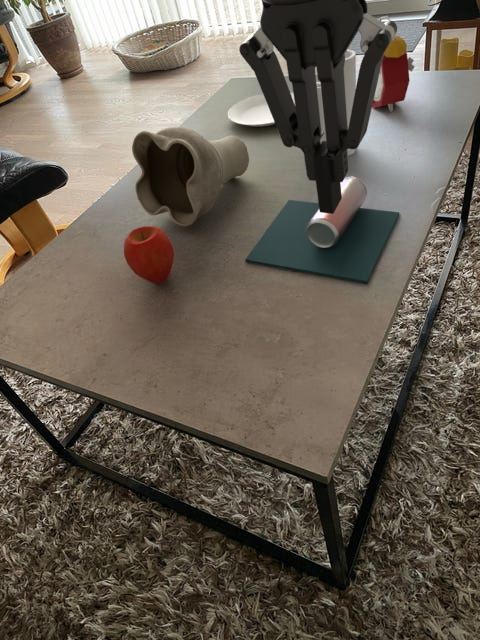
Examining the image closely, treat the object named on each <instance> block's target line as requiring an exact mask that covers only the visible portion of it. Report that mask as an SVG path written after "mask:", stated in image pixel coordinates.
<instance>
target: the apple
mask: <svg viewBox="0 0 480 640" xmlns="http://www.w3.org/2000/svg"><path fill="white" fill-rule="evenodd" d="M123 257H124V259H125V261H126V264H127V265H128V267H129V268H130V269H131V270H132V272H133V273H134V274H135V275H137V276H138V277H139V278H141V279H143V280H145V281H148V282H149V283H152V284H155V285H160V284H164V283H165V282H167V280H168V279H169V277H170V275H171V272H172V269H173V265H174V260H175V251H174V246H173V243H172V241H171V239H170V238H169V236H168V235H167V233H166V232H165V231H164V230H162V229H161V228H159V227H157V226H141V227H137V228H135V229H132V230H131V232H129V234H128V235H127V236H126V238H125V240H124V242H123Z"/></svg>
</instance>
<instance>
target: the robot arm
mask: <svg viewBox="0 0 480 640" xmlns="http://www.w3.org/2000/svg"><path fill="white" fill-rule="evenodd" d="M261 3H262V7H261V14H260V18H259V26H260V27H259V28H258V29H257V30H256V31H254V32H253V33H251V34H250V35H249V36H248V37H247V38H246V39H245V40H244V41H243V42H242V43H241V44H240V45H239V51H238V52H239V53H240V56H241V57H242V58H243V59H244V61H245V62H246V63H247V64H248V66H249V67H250V68H251V69H252V71H253V72H254V75H255V78H256V80H257V82H258V84H259V87H260V90H261V93H262V94H263V95H264V97H265V100H266V102H267V105H268V107H269V110H270V112H271V114H272V117H273V119H274V122H275V124H274V125H275V127H276V129H277V131H278V135H279V136H280V140H281V142H282V144H283V146H284V147H287V148H292V147H296V148H298V149H300V150H301V152H302V153H303V156H304V163H305V164H304V165H305V171H306V177H307V179H308V181H312V182H313V181H314V182H315V185H316V195H317V203H319V211H320V213H329V214H334V212H335V210H336V208H337V206H338V204H339V203H340V201H341V199H342V195H341V182H343V180H344V178H346V177H347V175H348V173H349V158H348V157H349V156H348V155H347V149H356V150H357V148H359V147H360V145H361V142H362V141H363V139H364V137H365V136H366V134H367V131H368V127H369V122H370V118H371V114H372V109H373V108H372V105H373V100H374V96H375V91H376V87H377V82H378V78H379V73H380V69H381V64H382V60H383V55H384V52H385V51H386V49H387V47H388V46H389V44H390V42H391V41H392V39H393V38H394V36H396V34H397V32H398V26H397V23H396V22H395V21H393V20H391V21H388V20H387V21H385V22H382V20H381V21H380V19H379V18H378V19H377V18H376V17H375V16H373V15H371V14H370V13H368V3H367V0H261ZM358 32H359V34H360V42H359V47H360V50H361V52H362V53H364V54H365V55H364V54H363V57H362V59H361V62H360V65H359V70H358V75H357V79H356V90H355V96H354V101H353V106H352V112H351V117H350V122H349V128H348V127H347V112H346V97H345V82H344V64H345V52H346V51H347V50H349V48H350V46H351V44H352V42H353V41H354V39H355V37H356V36H357V34H358ZM274 49H276V51H277V52H278V53H279V54H280V55H281V57H282V58H283V59H284V60H285V62H286V68H287V77H288V81H289V82H290V83H291V85H292V92H291V91H290V88H289V86H288V82H287V80H286V77H285V74H284V72H283V70H282V67H281V64H280V61H279V58H278V56H277V54H276V53H275V51H274ZM317 80H318V82H320V83H321V92H322V102H323V112H324V122H325V132H326V141H322V142H321V144H320V139H321V138H322V136H323V134H324V131H323V132H322V131H321V124H320V114H319V104H318V94H317V84H316V82H317ZM290 92H291V93H293V94H294V101H295V104H294V101H293V99H292V96H291V93H290ZM321 132H322V133H321Z"/></svg>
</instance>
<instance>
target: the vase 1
mask: <svg viewBox="0 0 480 640" xmlns="http://www.w3.org/2000/svg"><path fill="white" fill-rule="evenodd" d="M131 151H132V155H133V158H134V160H135V161H136V164H137V165H138V166H139V168H140V169H141V175H140V176H139V178H138V179H137V181H136V182H135V187H134V188H135V194H136V197H137V200H138V201H139V204H140V205H141V207H142V208H143V210H144V211H145V212H146V213H147V214H148V215H150V216H156V215H160V214H165V213H168V215H169V217H170V219H171V220H172V222H174V223H175V224H177V225H178V226H181V227H189V226H191V225H193V224H194V223H195V221H196V220H197V218H200V217H202V216H205V215H206V214H207V213H209V211H210V210H211V209H212V208H213V207H214V205H215V204H216V202H217V200H218V198H219V195H220V193H221V188H222V185H224V184H225V183H226V182H228V181H230V180H232V179H234V178H237V177H241V176H242V175H243V174H244V173H245V172H246V171H247V170H248V167H249V163H250V156H249V152H248V147H247V146H246V143H245V142H244V141H243V140H241V138H240V137H238V136H236V135H227V136H225V137H222V138H220V139H216V140H207V138H205V137H204V135H201V134H200V133H199V132H197V131H195V130H193V129H190V128H187V127H182V126H172V127H166V128H163V129H161V130H159V131H157V132H156V133H154V132H150V131H147V130H143V131H140V132H138V133H137V134H136V135H135V137H134V138H133V141H132V146H131Z"/></svg>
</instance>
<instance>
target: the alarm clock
mask: <svg viewBox="0 0 480 640" xmlns="http://www.w3.org/2000/svg"><path fill="white" fill-rule="evenodd" d="M385 19H387V21H392V20H391V19H390V17H389V16H388V15H384V16H381V17H379V21H381V22H382V20H385ZM407 46H408V45H407V42H406V41H405V39H404V38H402V37H401V36H399V35H395V36H394V38H393V39H392V41H391V42H390V44H389V46H388V47H387V49H386V51H385V52H384V55H383V60H382V64H381V69H380V73H379V78H378V82H377V87H376V91H375V96H374V100H373V105H372V109H373V108H379V107H383V106H387V108H388V110H389V112H390V113H392V112H394V104H396V103H399V102H404V101H405V98H406V95H407V91H408V88H409V84H410V82H411V81H410V72H411V73H412V72H413V70H414V69H415V65H413V63H414V61H415V59H414V58H412V57H410V56H408V53H407ZM364 55H365V53H364V54H363V56H364Z"/></svg>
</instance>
